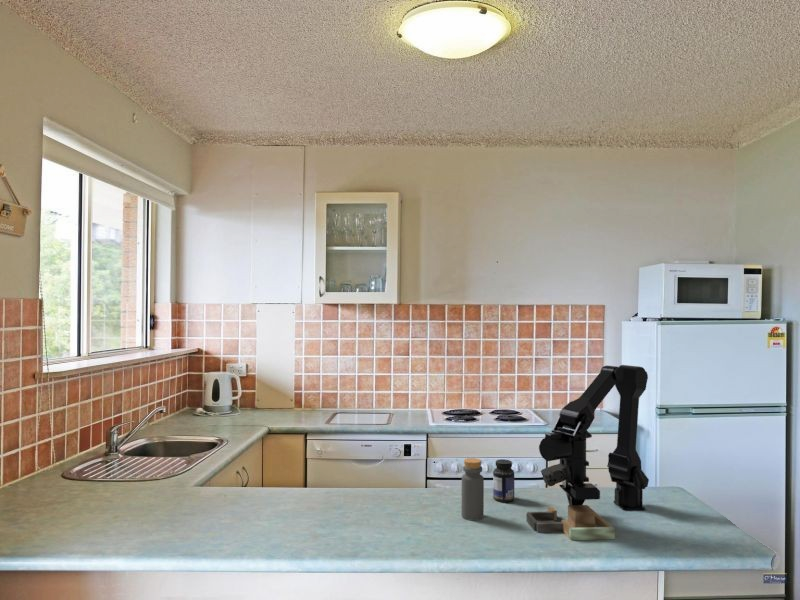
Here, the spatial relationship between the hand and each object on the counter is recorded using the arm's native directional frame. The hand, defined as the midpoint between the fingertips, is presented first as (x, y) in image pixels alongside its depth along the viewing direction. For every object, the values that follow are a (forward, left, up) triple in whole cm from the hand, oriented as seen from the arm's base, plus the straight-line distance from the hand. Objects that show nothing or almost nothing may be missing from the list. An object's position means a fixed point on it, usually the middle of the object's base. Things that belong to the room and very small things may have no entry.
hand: (574, 515), depth 149 cm
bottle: (+26, -5, -2) cm, 26 cm away
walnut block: (0, +5, -2) cm, 5 cm away
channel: (+3, +3, -2) cm, 5 cm away
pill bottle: (+14, -18, -2) cm, 23 cm away
